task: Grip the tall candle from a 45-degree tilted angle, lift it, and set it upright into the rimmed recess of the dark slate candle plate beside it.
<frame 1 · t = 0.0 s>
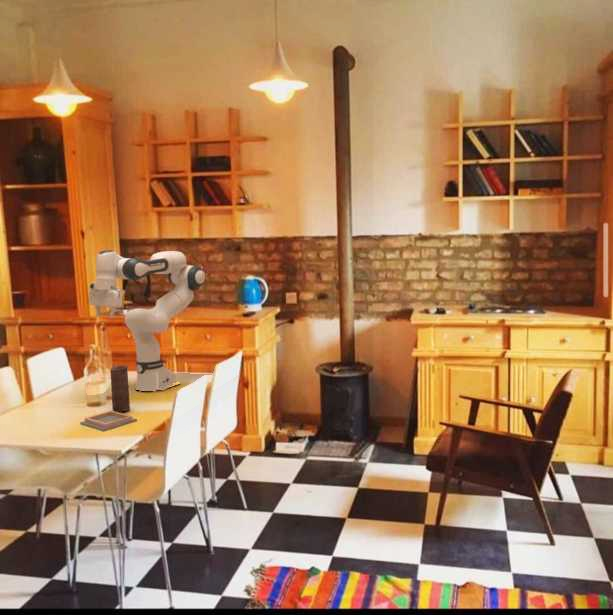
hand: (105, 316, 312), 39 cm above the table, tool pointing down, fingers open, 8 cm apart
candle: (121, 411, 299), on the table
candle plate: (108, 422, 283), on the table
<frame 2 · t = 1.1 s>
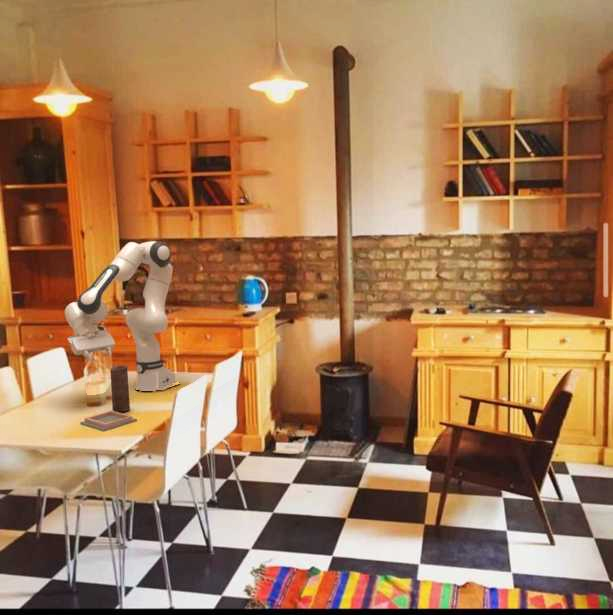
hand: (100, 358, 303), 22 cm above the table, tool tilted 45°, fingers open, 8 cm apart
nothing on the table moved.
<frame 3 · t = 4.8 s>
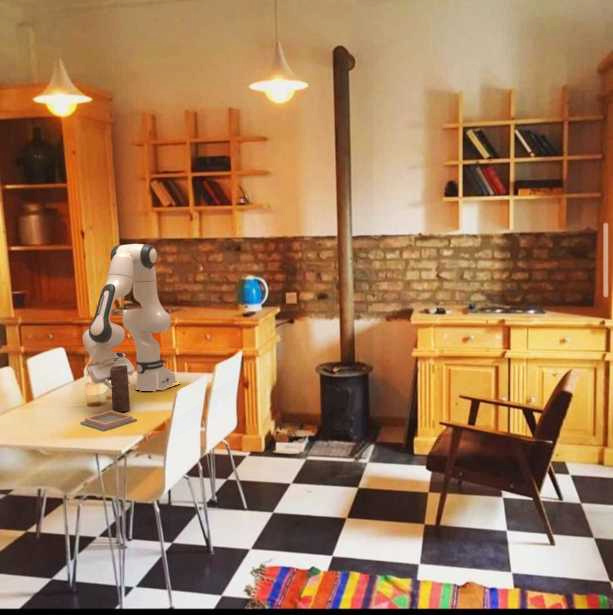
hand: (120, 385, 296), 11 cm above the table, tool tilted 45°, fingers closed on candle, 7 cm apart
candle: (121, 411, 299), on the table, touching gripper
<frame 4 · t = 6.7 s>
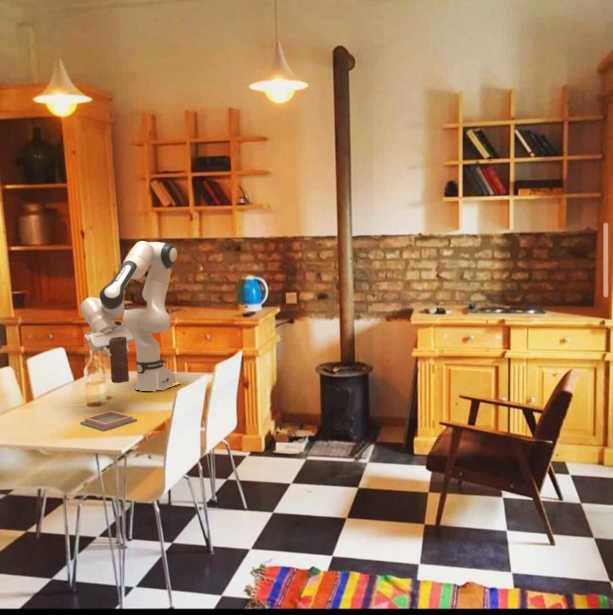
hand: (119, 354, 295), 25 cm above the table, tool tilted 45°, fingers closed on candle, 7 cm apart
candle: (120, 383, 297), point 12 cm above the table, touching gripper
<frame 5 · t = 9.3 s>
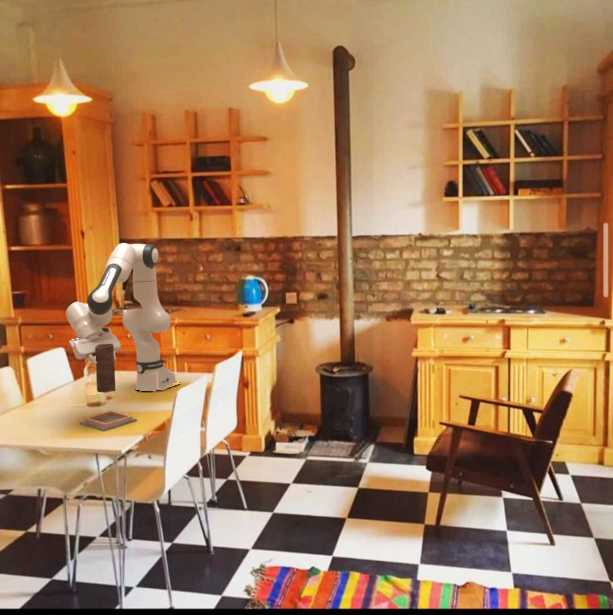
hand: (105, 362, 279), 25 cm above the table, tool tilted 45°, fingers closed on candle, 7 cm apart
candle: (106, 392, 281), point 13 cm above the table, touching gripper
when the fingers open (14 cm above the table, at t = 11.9 s): candle stays where it is, resting on candle plate.
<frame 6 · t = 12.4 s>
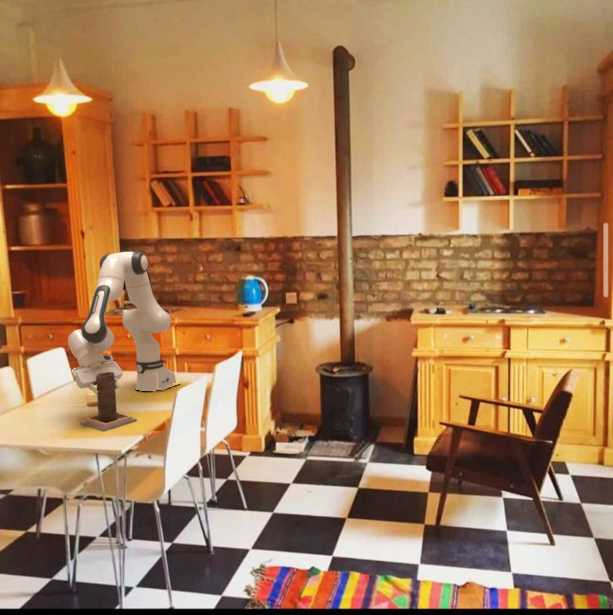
hand: (107, 390, 281), 14 cm above the table, tool tilted 45°, fingers open, 8 cm apart
candle: (107, 420, 283), point 1 cm above the table, touching candle plate, gripper
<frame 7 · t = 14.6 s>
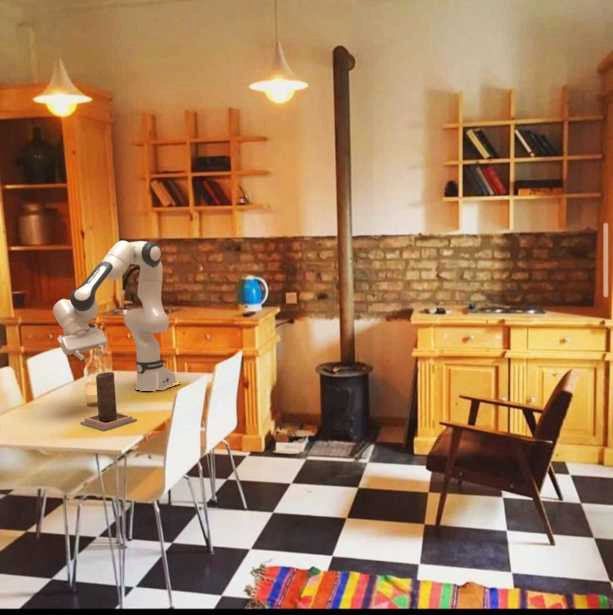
hand: (92, 356, 291), 25 cm above the table, tool tilted 45°, fingers open, 8 cm apart
candle: (107, 421, 283), point 1 cm above the table, touching candle plate
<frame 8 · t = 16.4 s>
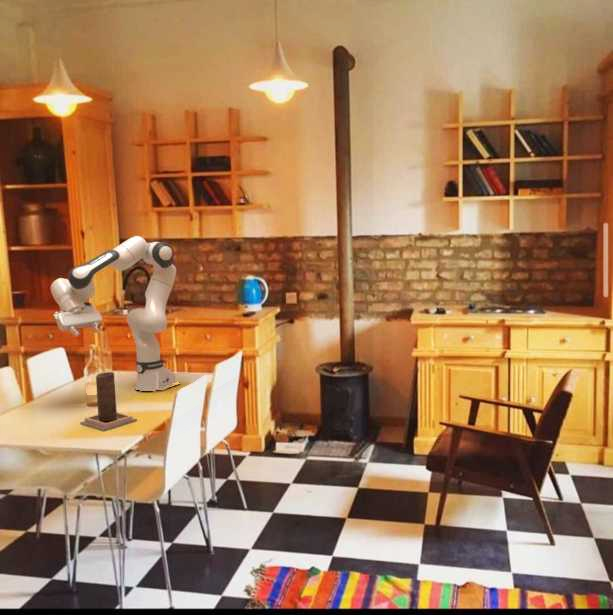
hand: (87, 333, 300), 33 cm above the table, tool tilted 45°, fingers open, 8 cm apart
nothing on the table moved.
at the end: candle 0.3 cm off-centre on the candle plate, point 0.6 cm above the candle plate's base; candle tilted 0°; the gripper is holding nothing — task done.
